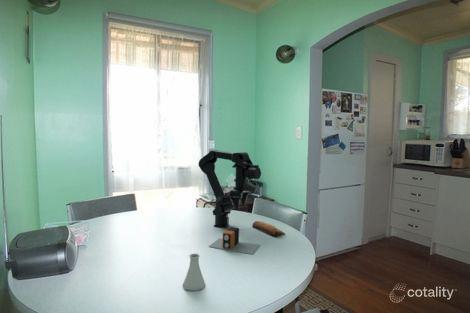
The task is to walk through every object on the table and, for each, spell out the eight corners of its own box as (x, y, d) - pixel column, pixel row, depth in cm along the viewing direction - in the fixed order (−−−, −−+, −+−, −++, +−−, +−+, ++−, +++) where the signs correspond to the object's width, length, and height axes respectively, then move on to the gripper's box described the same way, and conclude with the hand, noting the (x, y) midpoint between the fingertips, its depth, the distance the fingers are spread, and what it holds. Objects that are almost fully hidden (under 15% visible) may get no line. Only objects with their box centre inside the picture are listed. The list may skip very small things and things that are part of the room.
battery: (239, 227, 130) (231, 234, 120) (239, 242, 130) (230, 250, 121) (230, 226, 131) (221, 233, 122) (230, 241, 132) (221, 248, 122)
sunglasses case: (287, 234, 143) (283, 224, 141) (278, 243, 140) (273, 233, 138) (264, 224, 158) (259, 215, 156) (255, 233, 155) (250, 223, 153)
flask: (183, 280, 96) (184, 250, 95) (205, 280, 96) (206, 250, 96) (181, 292, 89) (181, 260, 88) (205, 291, 89) (205, 260, 88)
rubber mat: (208, 247, 125) (208, 246, 125) (219, 238, 135) (219, 238, 135) (252, 254, 118) (252, 253, 118) (260, 245, 128) (260, 244, 128)
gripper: (250, 180, 134) (249, 213, 135) (261, 176, 151) (260, 205, 152) (228, 179, 138) (227, 211, 139) (241, 174, 155) (240, 203, 156)
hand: (240, 207), depth 147 cm, fingers open, 9 cm apart
